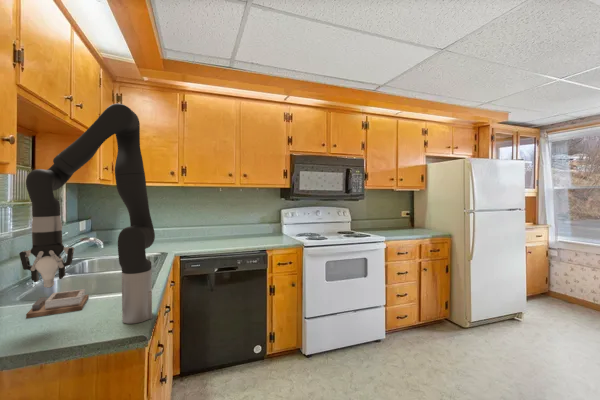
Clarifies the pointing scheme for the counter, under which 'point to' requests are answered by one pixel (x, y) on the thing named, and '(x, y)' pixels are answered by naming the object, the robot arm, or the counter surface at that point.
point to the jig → (59, 303)
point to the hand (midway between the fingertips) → (49, 279)
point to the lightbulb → (47, 270)
